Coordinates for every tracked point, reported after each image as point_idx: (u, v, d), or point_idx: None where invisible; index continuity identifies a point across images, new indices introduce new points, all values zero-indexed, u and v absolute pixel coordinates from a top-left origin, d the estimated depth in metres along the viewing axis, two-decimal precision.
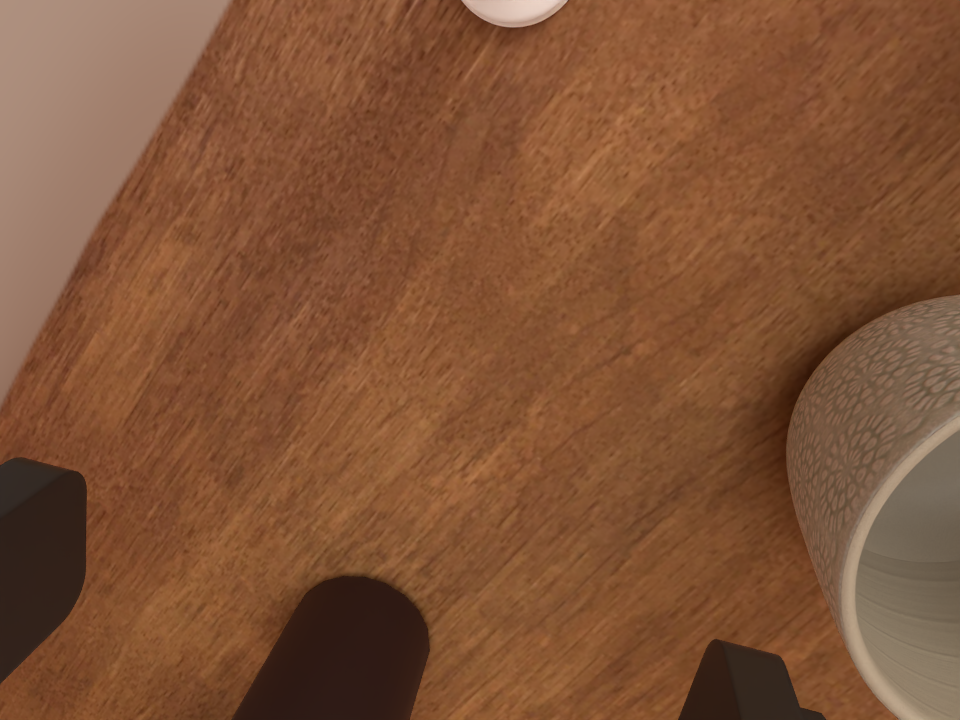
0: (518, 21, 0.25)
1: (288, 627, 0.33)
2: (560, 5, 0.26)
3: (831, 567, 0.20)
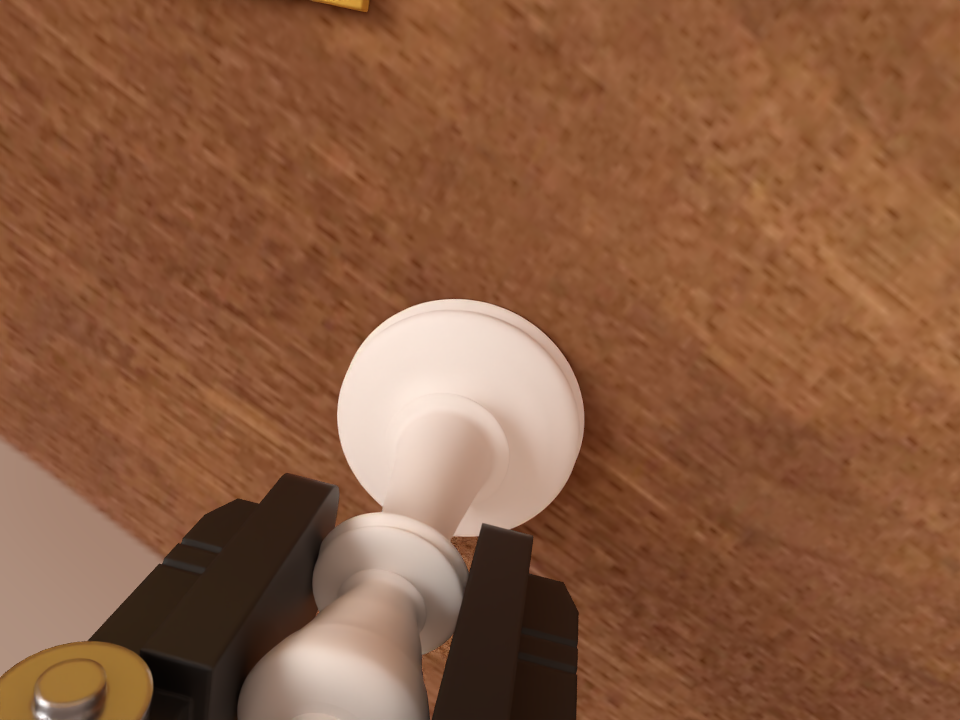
0: (577, 429, 0.14)
1: None
2: (552, 348, 0.14)
3: None
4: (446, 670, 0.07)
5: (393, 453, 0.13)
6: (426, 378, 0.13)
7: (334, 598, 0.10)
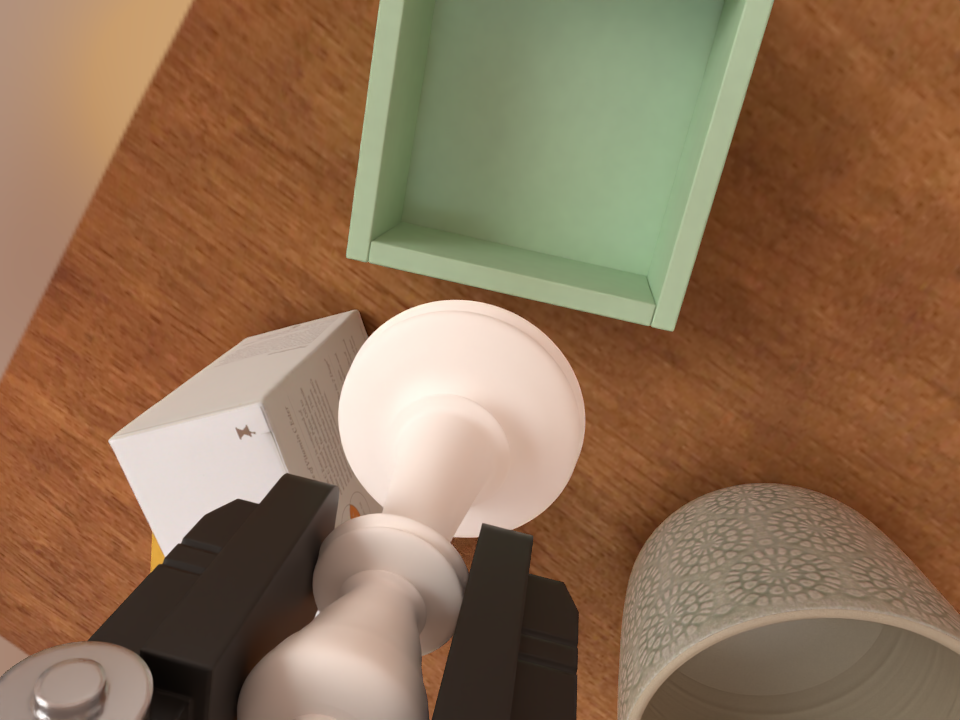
0: (578, 430, 0.14)
1: None
2: (553, 349, 0.14)
3: None
4: (446, 670, 0.07)
5: (394, 454, 0.13)
6: (427, 379, 0.13)
7: (334, 599, 0.10)
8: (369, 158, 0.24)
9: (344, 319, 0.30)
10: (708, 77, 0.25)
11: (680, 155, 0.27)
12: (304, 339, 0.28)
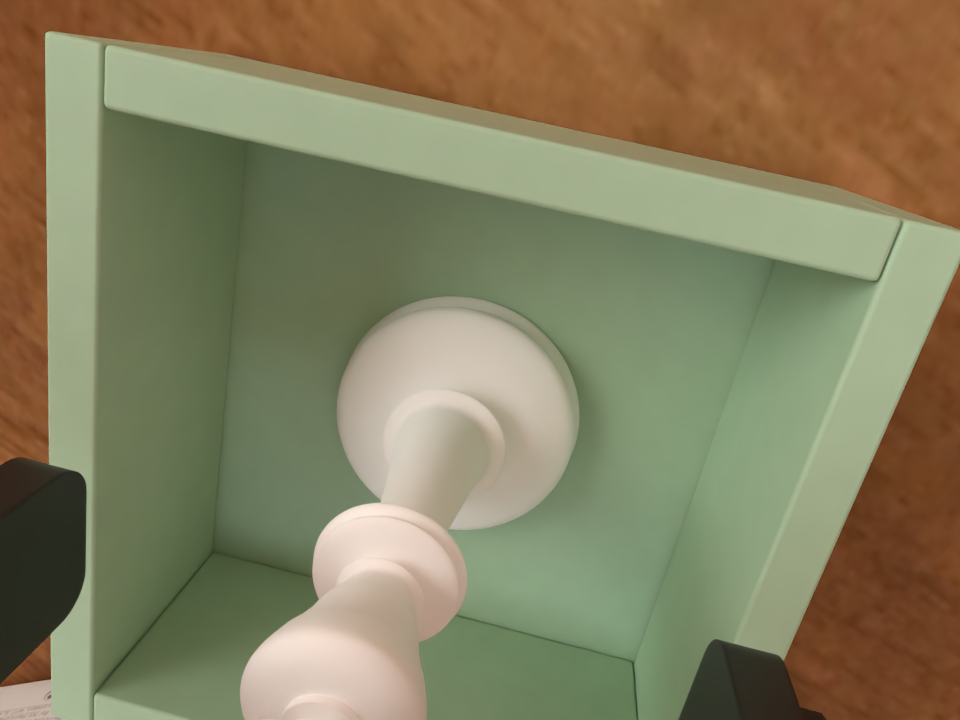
0: (572, 423, 0.14)
1: None
2: (548, 344, 0.14)
3: None
4: None
5: (391, 447, 0.14)
6: (424, 374, 0.14)
7: (334, 587, 0.10)
8: None
9: None
10: (754, 387, 0.13)
11: (695, 484, 0.15)
12: None
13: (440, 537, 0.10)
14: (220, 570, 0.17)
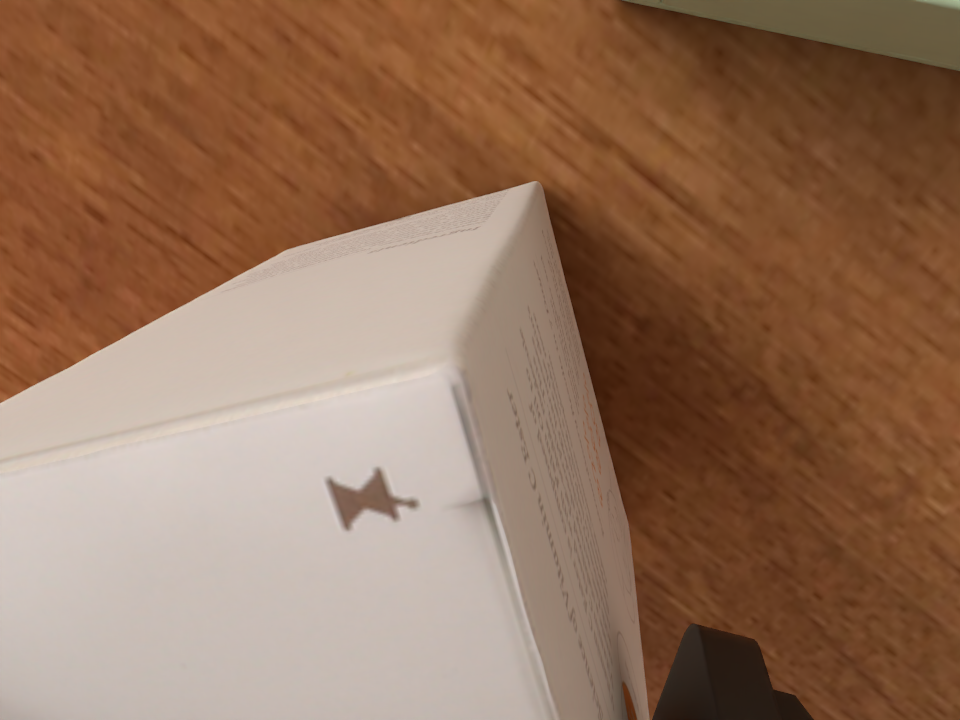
0: None
1: None
2: None
3: None
4: None
5: None
6: None
7: None
8: None
9: (529, 191, 0.13)
10: None
11: None
12: (455, 222, 0.11)
13: None
14: None
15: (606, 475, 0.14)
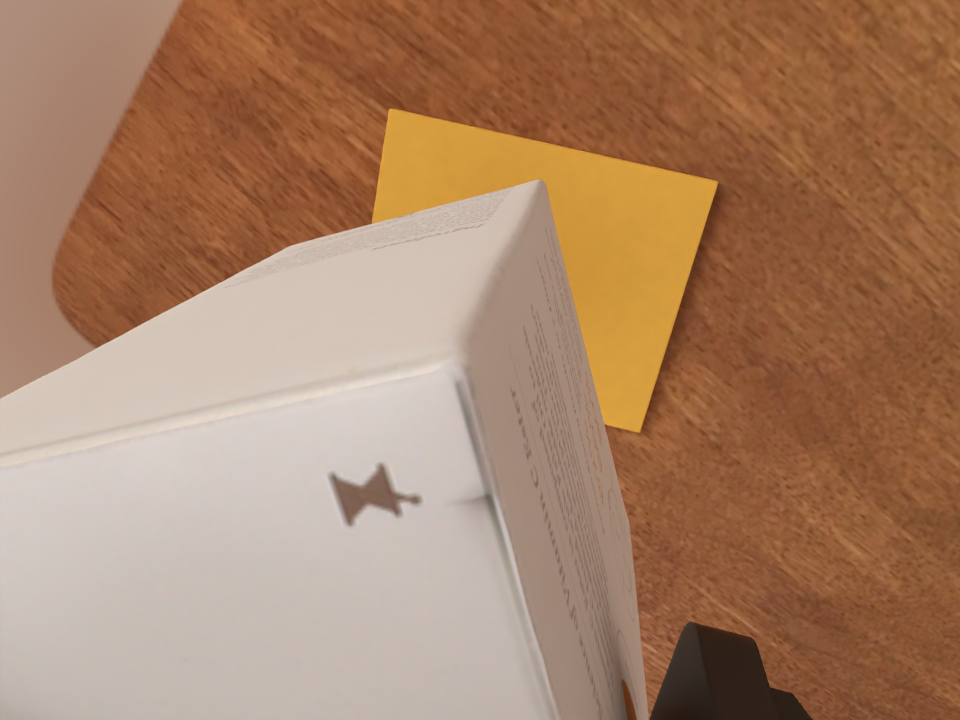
0: None
1: None
2: None
3: None
4: None
5: None
6: None
7: None
8: None
9: (533, 189, 0.13)
10: None
11: None
12: (458, 219, 0.11)
13: None
14: None
15: (607, 474, 0.14)
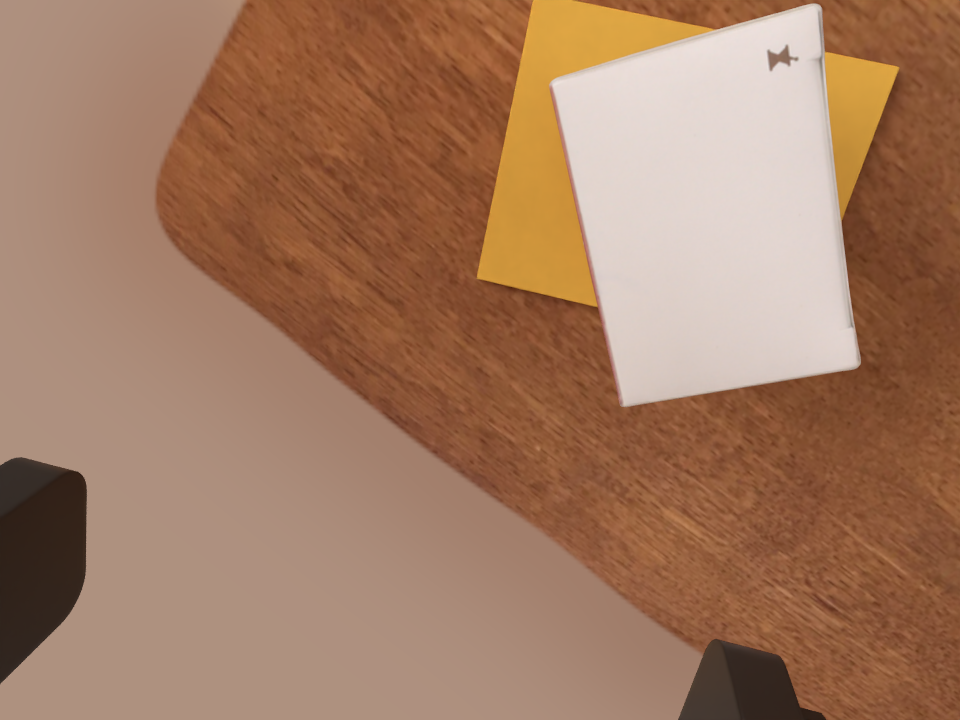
0: None
1: None
2: None
3: None
4: None
5: None
6: None
7: None
8: None
9: None
10: None
11: None
12: None
13: None
14: None
15: None
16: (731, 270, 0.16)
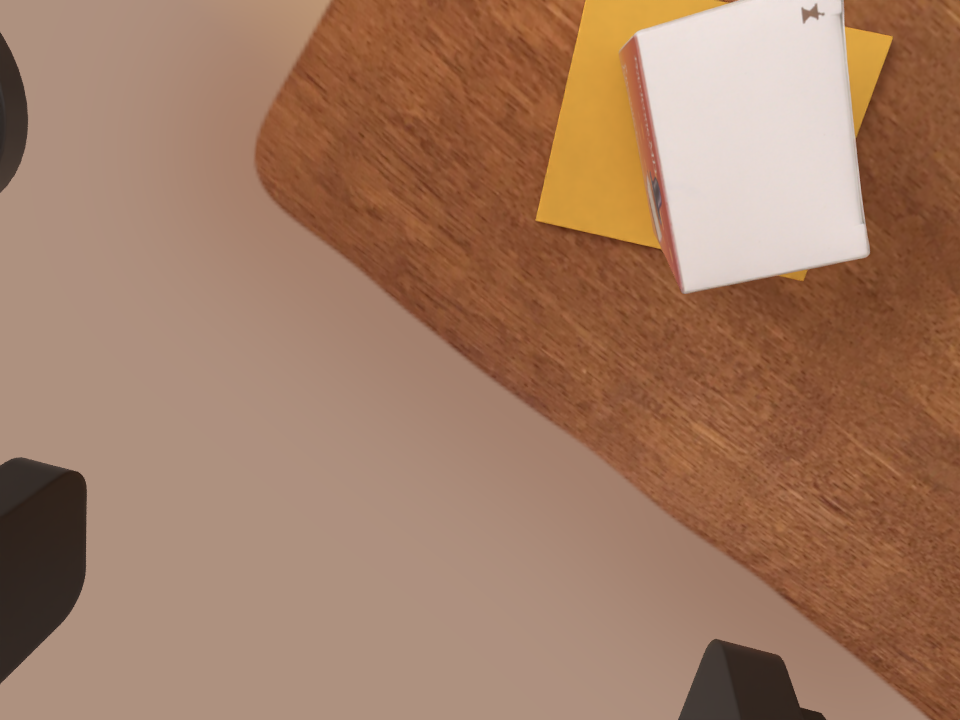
0: None
1: None
2: None
3: None
4: None
5: None
6: None
7: None
8: None
9: None
10: None
11: None
12: None
13: None
14: None
15: None
16: (771, 180, 0.21)
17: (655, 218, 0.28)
